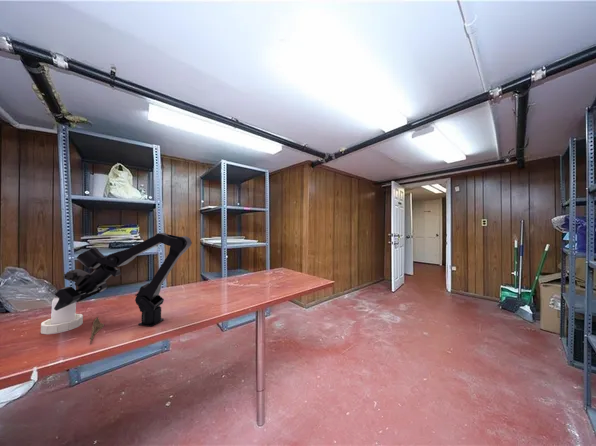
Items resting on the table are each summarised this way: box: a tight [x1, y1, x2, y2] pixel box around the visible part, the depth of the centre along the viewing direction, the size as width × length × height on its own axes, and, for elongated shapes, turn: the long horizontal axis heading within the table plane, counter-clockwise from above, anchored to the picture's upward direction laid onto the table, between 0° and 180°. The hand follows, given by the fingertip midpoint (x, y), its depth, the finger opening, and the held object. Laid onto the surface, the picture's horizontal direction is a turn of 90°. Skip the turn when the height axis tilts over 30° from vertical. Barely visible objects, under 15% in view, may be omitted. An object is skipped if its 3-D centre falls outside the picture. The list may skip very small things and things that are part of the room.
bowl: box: [40, 313, 84, 335], centre depth 84 cm, size 11×11×3 cm
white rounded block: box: [50, 295, 77, 325], centre depth 84 cm, size 6×6×12 cm
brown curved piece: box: [89, 316, 105, 343], centre depth 79 cm, size 15×2×5 cm, turn 35°
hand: (66, 305), depth 85 cm, fingers open, 9 cm apart
